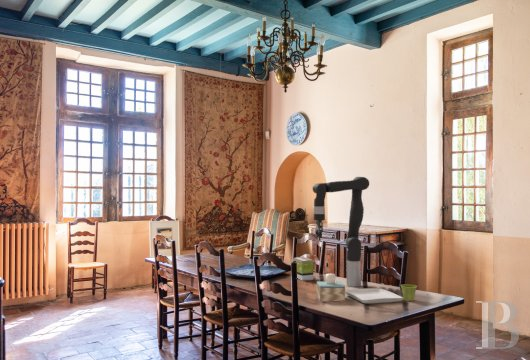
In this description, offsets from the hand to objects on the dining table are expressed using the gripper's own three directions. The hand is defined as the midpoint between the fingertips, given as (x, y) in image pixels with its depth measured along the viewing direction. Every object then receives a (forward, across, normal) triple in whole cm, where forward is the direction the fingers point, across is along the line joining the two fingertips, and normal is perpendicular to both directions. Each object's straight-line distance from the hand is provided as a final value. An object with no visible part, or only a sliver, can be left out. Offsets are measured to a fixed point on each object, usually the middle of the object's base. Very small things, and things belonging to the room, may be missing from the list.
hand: (319, 237), depth 312 cm
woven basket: (+34, -30, -2) cm, 45 cm away
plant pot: (+34, -34, -49) cm, 69 cm away
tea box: (+34, +34, +7) cm, 49 cm away
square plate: (+35, -30, -28) cm, 54 cm away
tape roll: (+25, -30, -2) cm, 39 cm away
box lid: (+26, -30, -2) cm, 39 cm away
